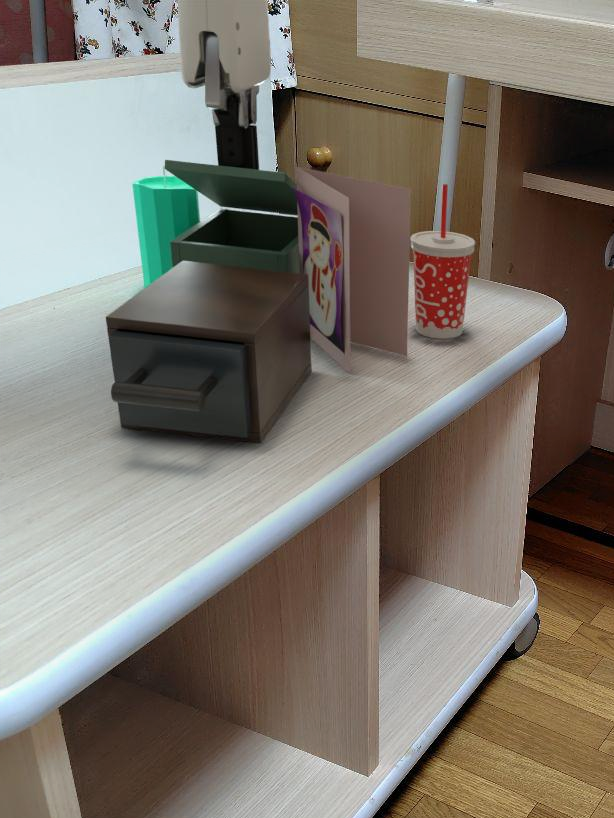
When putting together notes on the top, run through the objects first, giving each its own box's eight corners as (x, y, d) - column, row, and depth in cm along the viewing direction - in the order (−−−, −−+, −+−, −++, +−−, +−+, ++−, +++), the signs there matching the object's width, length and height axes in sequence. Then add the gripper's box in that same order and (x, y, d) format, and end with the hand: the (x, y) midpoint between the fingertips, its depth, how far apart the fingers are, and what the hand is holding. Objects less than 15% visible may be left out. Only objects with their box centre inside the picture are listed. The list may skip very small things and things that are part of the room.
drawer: (227, 464, 69) (220, 373, 65) (94, 449, 69) (80, 357, 65) (297, 370, 84) (294, 292, 80) (188, 358, 84) (180, 279, 81)
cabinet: (260, 443, 74) (253, 333, 70) (120, 427, 74) (105, 317, 70) (311, 371, 86) (308, 274, 82) (191, 357, 87) (182, 260, 82)
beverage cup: (399, 322, 99) (401, 177, 92) (455, 317, 102) (461, 176, 94) (422, 344, 94) (427, 193, 87) (480, 338, 97) (489, 191, 90)
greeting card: (293, 331, 94) (286, 166, 86) (364, 322, 98) (364, 164, 90) (341, 374, 86) (338, 198, 79) (417, 364, 90) (422, 194, 82)
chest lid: (284, 182, 86) (285, 172, 86) (164, 168, 86) (164, 159, 86) (323, 218, 100) (324, 210, 100) (220, 206, 100) (220, 198, 100)
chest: (289, 337, 93) (286, 254, 89) (178, 325, 93) (169, 241, 89) (325, 293, 104) (324, 218, 100) (226, 282, 104) (221, 207, 100)
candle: (171, 300, 98) (158, 175, 92) (131, 286, 101) (116, 163, 94) (218, 288, 103) (209, 168, 96) (179, 274, 105) (167, 156, 99)
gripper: (208, -70, 86) (225, 152, 95) (138, -71, 73) (166, 185, 83) (294, -61, 86) (302, 160, 95) (238, -61, 73) (254, 195, 83)
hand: (239, 171), depth 89 cm, fingers closed
